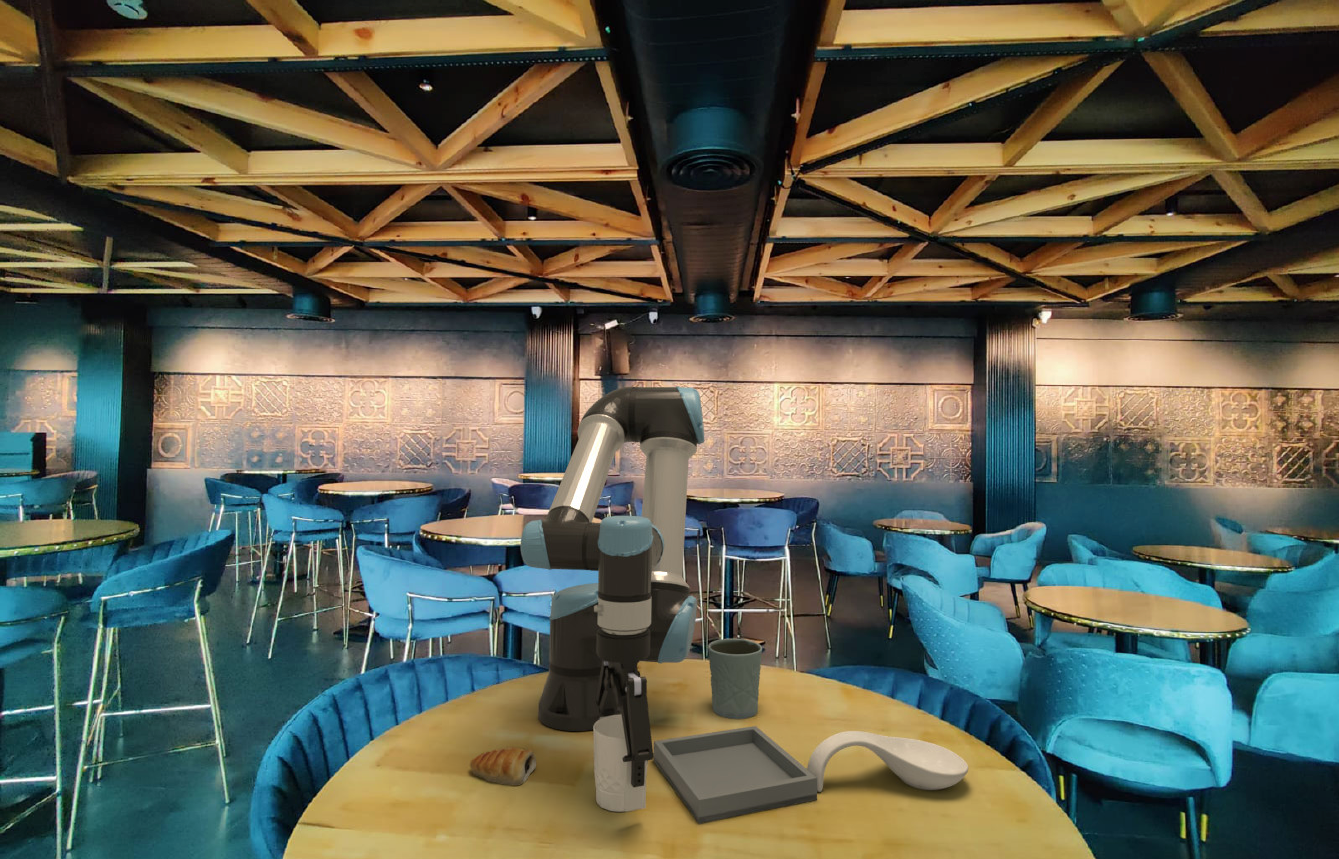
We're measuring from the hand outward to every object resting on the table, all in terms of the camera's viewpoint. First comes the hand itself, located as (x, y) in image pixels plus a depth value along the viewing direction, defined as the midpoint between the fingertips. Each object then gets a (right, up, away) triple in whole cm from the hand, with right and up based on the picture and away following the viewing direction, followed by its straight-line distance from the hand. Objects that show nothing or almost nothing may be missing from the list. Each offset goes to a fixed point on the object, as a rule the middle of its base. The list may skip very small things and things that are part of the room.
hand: (620, 783), depth 88 cm
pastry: (-18, -3, +6) cm, 19 cm away
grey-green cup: (+19, -4, +32) cm, 37 cm away
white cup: (0, -2, 0) cm, 2 cm away
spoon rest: (+39, -4, +6) cm, 40 cm away
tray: (+16, -3, +6) cm, 17 cm away
